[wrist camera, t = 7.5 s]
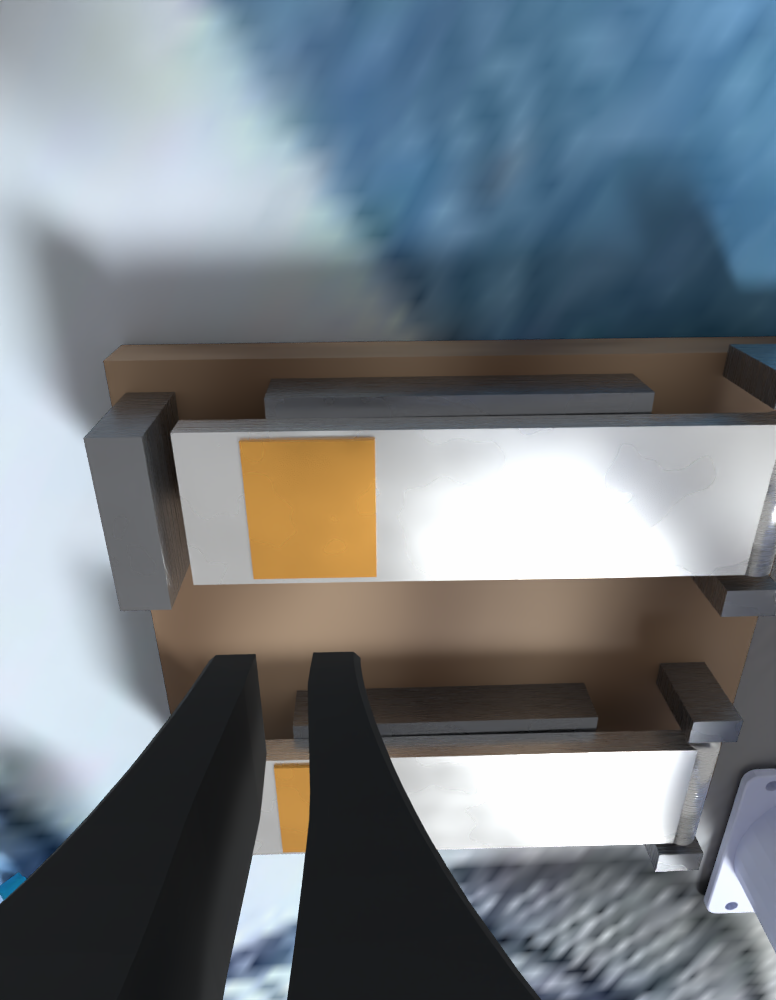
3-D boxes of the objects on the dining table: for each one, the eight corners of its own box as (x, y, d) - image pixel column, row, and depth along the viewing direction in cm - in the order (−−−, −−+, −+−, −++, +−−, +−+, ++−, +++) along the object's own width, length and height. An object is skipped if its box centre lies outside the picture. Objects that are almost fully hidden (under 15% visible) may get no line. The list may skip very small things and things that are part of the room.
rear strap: (711, 726, 21) (726, 752, 20) (686, 818, 23) (699, 845, 22) (226, 738, 21) (220, 764, 20) (239, 830, 23) (234, 858, 22)
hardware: (785, 343, 17) (861, 380, 15) (668, 804, 25) (705, 884, 22) (118, 352, 17) (73, 392, 14) (202, 819, 24) (183, 903, 22)
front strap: (798, 410, 17) (822, 426, 16) (758, 555, 18) (778, 576, 18) (179, 418, 16) (169, 434, 15) (201, 565, 18) (193, 587, 17)
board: (800, 336, 19) (834, 351, 18) (688, 766, 26) (705, 799, 25) (122, 345, 18) (102, 360, 17) (199, 781, 26) (190, 816, 24)
